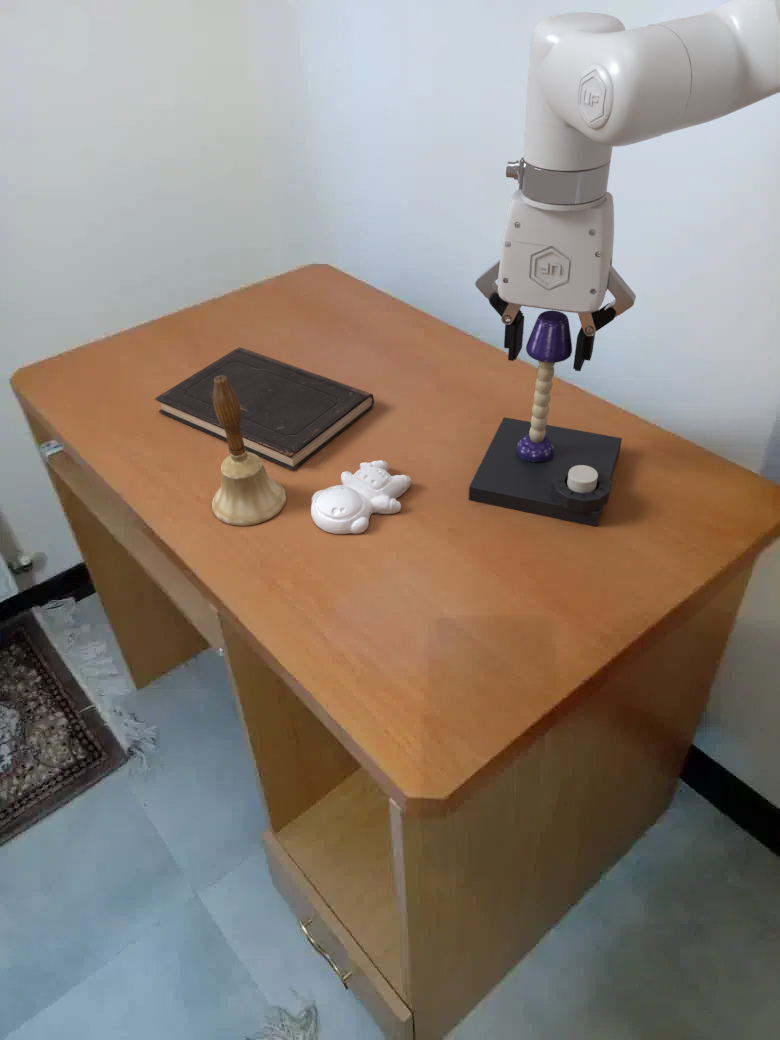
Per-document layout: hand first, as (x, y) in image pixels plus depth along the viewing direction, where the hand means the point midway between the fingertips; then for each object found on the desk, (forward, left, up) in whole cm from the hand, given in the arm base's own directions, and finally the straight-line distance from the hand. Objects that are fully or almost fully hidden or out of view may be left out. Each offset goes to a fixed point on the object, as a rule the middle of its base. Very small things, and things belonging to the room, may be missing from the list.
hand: (547, 357), depth 82 cm
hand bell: (+28, +17, -14) cm, 36 cm away
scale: (-2, +2, -14) cm, 14 cm away
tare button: (-6, +6, -11) cm, 14 cm away
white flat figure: (+16, +13, -14) cm, 25 cm away
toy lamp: (0, 0, -12) cm, 12 cm away
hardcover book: (+35, 0, -14) cm, 38 cm away
